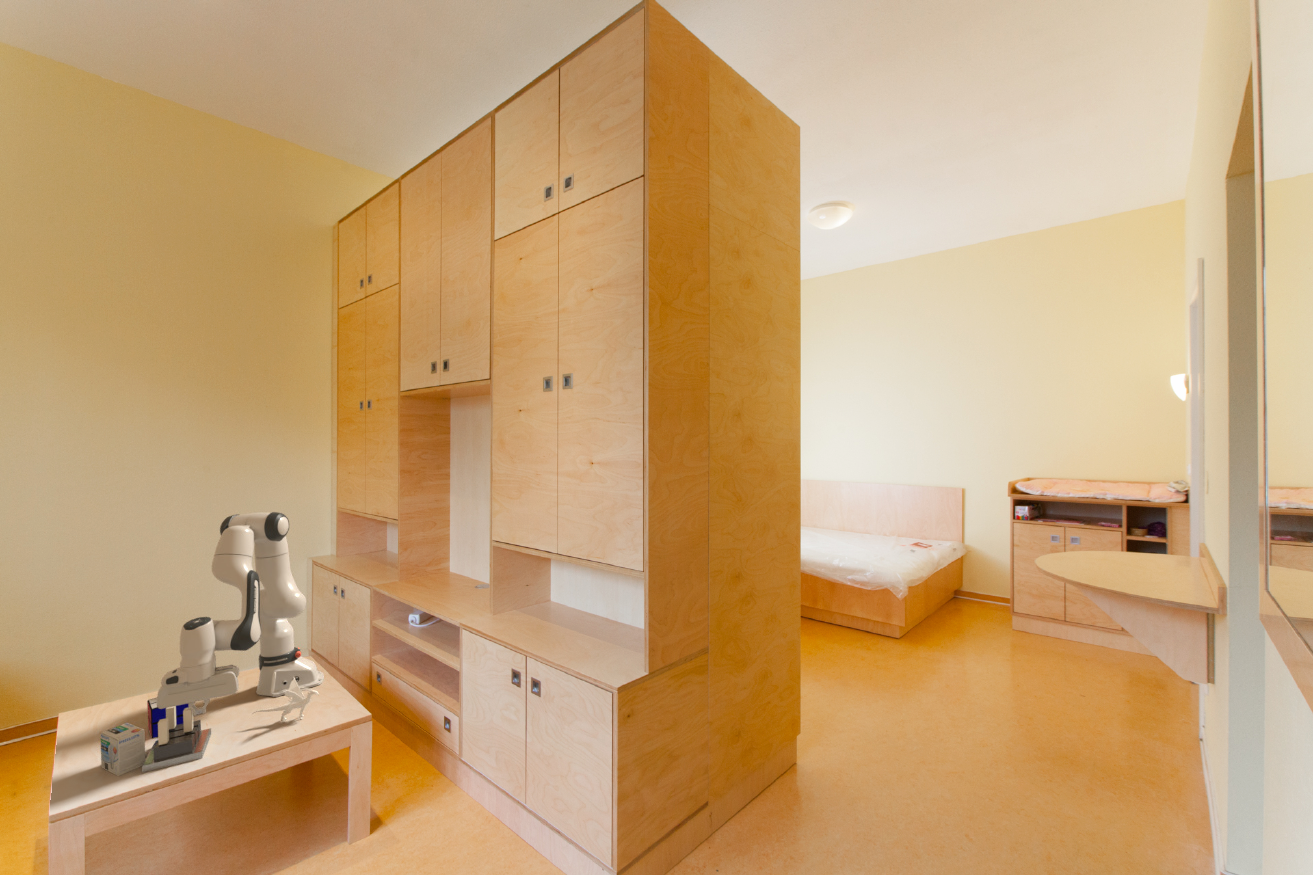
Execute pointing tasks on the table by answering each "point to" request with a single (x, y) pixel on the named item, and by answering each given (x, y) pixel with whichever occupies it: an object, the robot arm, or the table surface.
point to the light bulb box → (122, 748)
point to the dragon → (293, 700)
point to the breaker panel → (178, 747)
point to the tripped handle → (188, 719)
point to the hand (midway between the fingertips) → (199, 713)
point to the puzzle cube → (161, 715)
